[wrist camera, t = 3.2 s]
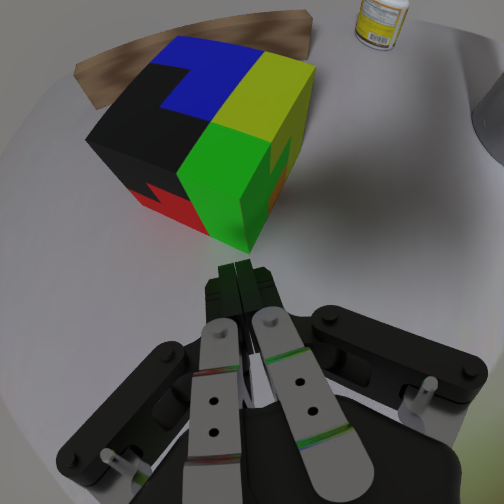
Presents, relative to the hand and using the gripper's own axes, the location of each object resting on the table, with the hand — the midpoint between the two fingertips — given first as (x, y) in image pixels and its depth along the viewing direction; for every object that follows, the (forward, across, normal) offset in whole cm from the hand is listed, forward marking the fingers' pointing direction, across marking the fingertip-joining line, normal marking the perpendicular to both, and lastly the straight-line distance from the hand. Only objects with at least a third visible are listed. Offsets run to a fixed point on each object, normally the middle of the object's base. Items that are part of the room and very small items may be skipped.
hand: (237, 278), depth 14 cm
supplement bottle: (+25, -23, -14) cm, 37 cm away
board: (+23, 0, -11) cm, 25 cm away
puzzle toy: (+13, 0, -1) cm, 13 cm away
